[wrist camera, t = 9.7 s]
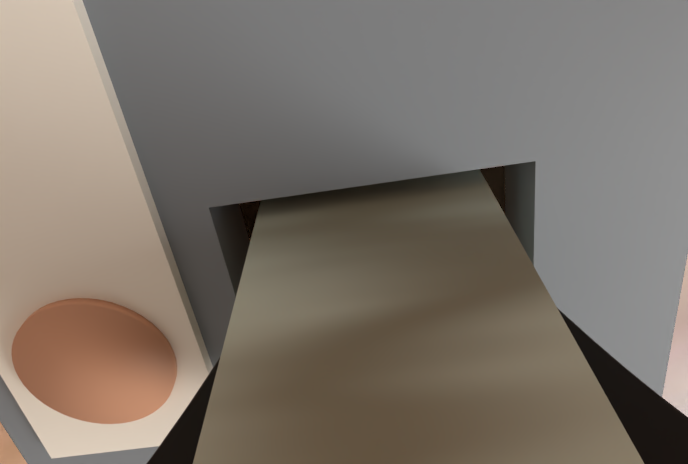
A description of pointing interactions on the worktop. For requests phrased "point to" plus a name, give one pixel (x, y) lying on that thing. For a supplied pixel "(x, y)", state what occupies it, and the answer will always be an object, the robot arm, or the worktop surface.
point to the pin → (401, 339)
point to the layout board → (308, 175)
